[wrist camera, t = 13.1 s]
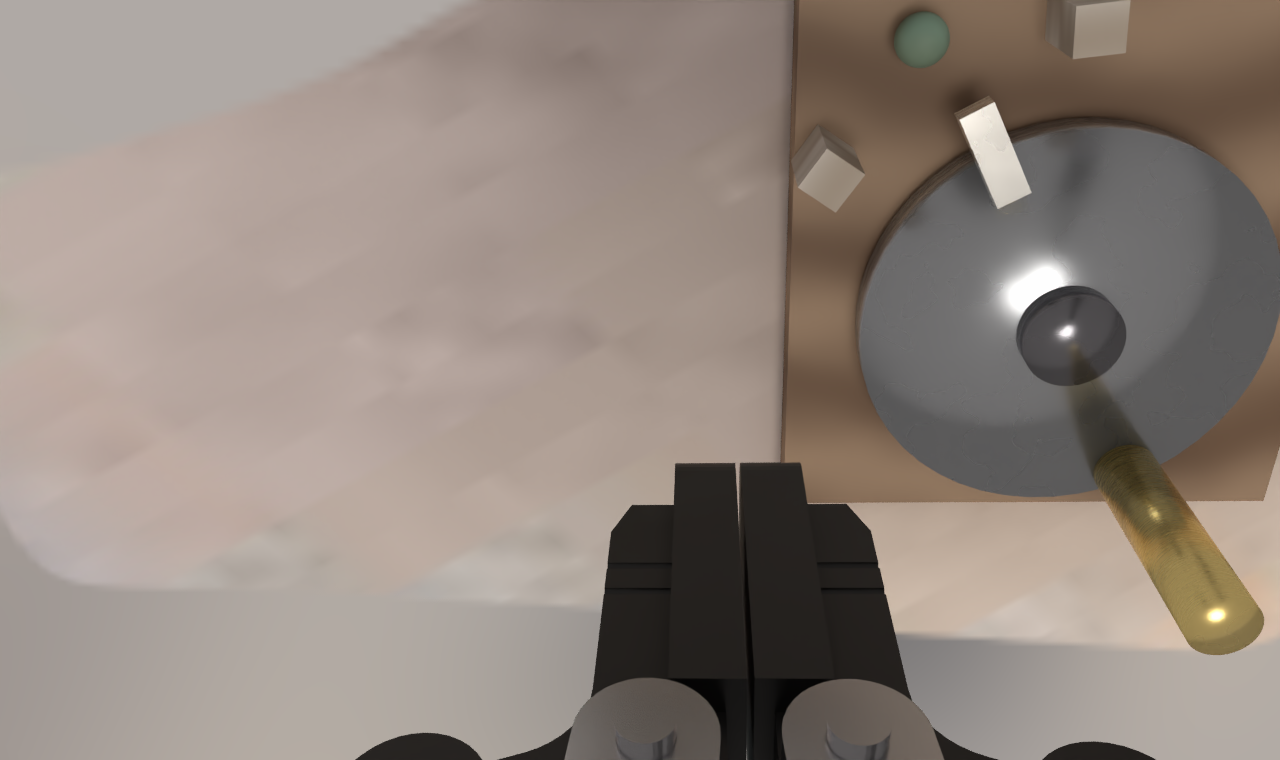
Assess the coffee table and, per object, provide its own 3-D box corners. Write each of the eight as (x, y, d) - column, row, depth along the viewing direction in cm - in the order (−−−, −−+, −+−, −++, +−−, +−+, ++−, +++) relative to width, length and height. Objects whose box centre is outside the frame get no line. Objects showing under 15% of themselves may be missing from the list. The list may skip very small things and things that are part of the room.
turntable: (792, -51, 36) (805, -30, 32) (1396, -73, 35) (1495, -55, 31) (777, 476, 47) (785, 546, 43) (1241, 474, 46) (1299, 545, 42)
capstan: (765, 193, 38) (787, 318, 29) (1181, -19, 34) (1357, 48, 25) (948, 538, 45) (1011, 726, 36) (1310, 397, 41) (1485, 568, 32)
